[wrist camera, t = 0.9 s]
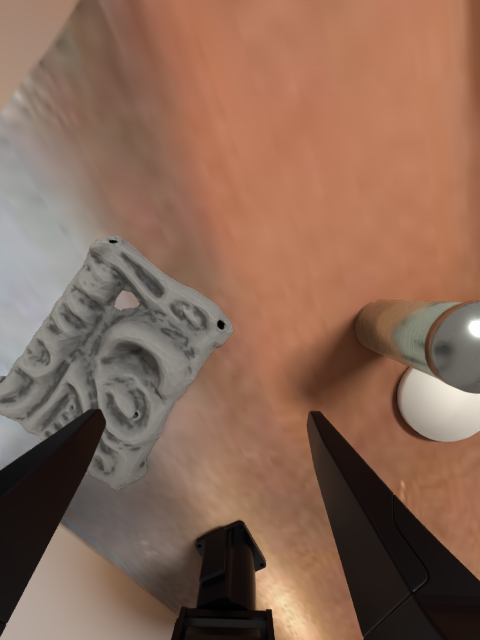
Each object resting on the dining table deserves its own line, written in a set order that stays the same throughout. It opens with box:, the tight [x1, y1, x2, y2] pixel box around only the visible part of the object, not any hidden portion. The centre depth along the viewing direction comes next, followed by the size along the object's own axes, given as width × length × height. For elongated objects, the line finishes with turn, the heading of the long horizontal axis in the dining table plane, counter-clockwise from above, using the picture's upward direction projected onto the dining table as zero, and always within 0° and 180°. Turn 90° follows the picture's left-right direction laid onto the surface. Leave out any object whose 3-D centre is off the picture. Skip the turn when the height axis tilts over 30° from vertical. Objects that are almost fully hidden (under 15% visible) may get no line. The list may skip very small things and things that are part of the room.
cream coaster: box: [397, 367, 480, 442], centre depth 23 cm, size 10×10×1 cm
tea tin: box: [354, 300, 480, 394], centre depth 18 cm, size 6×6×10 cm
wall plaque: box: [0, 236, 233, 490], centre depth 23 cm, size 24×19×4 cm
